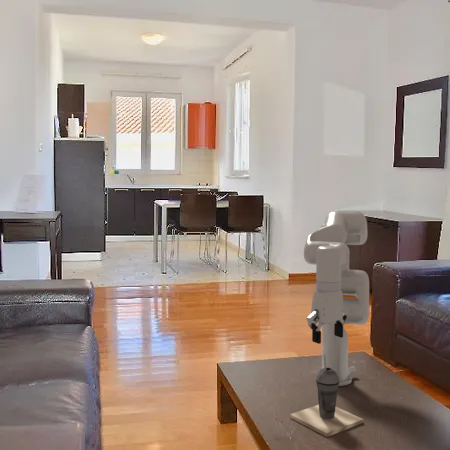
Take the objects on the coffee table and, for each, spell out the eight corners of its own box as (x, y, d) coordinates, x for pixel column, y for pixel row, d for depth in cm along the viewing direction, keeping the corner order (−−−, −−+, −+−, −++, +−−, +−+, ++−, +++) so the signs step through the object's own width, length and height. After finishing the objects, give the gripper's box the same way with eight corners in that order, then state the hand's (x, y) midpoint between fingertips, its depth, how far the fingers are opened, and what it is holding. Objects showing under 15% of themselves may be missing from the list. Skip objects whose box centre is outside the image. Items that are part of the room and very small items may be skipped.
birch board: (325, 405, 189) (325, 402, 188) (363, 422, 176) (363, 419, 176) (290, 417, 179) (290, 414, 179) (326, 437, 166) (326, 433, 166)
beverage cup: (338, 422, 173) (340, 359, 171) (314, 420, 175) (315, 357, 173) (338, 412, 181) (339, 351, 179) (315, 410, 182) (316, 350, 180)
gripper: (338, 279, 181) (338, 331, 183) (299, 287, 171) (299, 341, 173) (356, 284, 175) (355, 337, 177) (317, 292, 165) (316, 348, 167)
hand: (327, 339), depth 175 cm, fingers open, 9 cm apart
